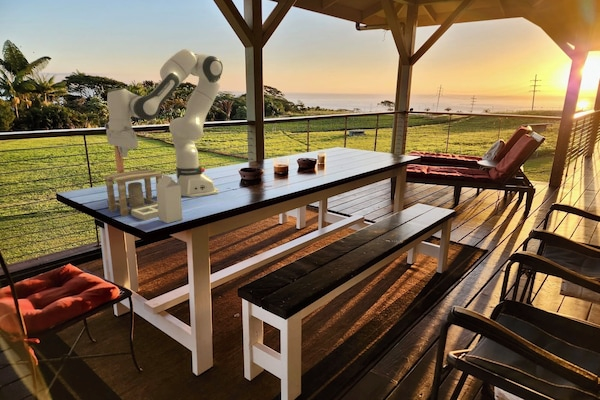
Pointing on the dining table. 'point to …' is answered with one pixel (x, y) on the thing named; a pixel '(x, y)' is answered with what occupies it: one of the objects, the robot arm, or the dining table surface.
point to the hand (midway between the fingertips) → (124, 156)
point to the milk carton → (169, 200)
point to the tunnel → (120, 180)
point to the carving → (135, 194)
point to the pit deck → (146, 212)
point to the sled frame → (120, 170)
